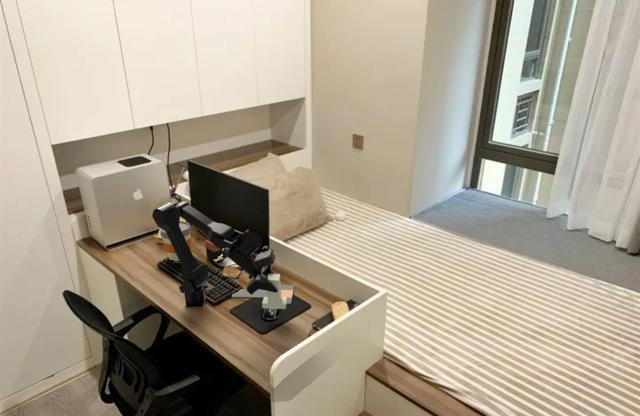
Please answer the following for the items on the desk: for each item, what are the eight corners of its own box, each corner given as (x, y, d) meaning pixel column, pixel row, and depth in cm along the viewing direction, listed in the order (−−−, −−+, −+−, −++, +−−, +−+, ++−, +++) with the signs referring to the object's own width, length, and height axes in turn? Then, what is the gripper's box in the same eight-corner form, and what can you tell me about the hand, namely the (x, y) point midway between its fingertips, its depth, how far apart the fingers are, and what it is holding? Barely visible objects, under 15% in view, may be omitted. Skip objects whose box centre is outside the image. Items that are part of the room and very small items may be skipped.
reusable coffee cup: (158, 259, 197) (153, 228, 191) (181, 248, 206) (177, 218, 200) (177, 267, 190) (172, 236, 184) (200, 255, 200) (196, 225, 194)
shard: (226, 265, 193) (226, 261, 192) (244, 265, 193) (243, 261, 192) (221, 279, 183) (221, 275, 182) (240, 278, 183) (239, 275, 182)
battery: (214, 254, 200) (212, 234, 196) (224, 259, 196) (221, 239, 192) (206, 258, 197) (204, 238, 193) (216, 263, 193) (213, 243, 189)
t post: (262, 308, 155) (260, 279, 150) (264, 301, 158) (262, 273, 154) (285, 309, 154) (284, 280, 150) (286, 302, 158) (285, 274, 153)
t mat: (229, 302, 166) (229, 301, 166) (236, 285, 177) (236, 284, 177) (291, 304, 165) (290, 303, 165) (294, 286, 176) (294, 285, 176)
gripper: (254, 258, 138) (290, 290, 142) (264, 231, 155) (296, 260, 159) (231, 279, 142) (267, 309, 146) (243, 251, 159) (275, 278, 163)
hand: (277, 288), depth 153 cm, fingers closed on t post, 4 cm apart
